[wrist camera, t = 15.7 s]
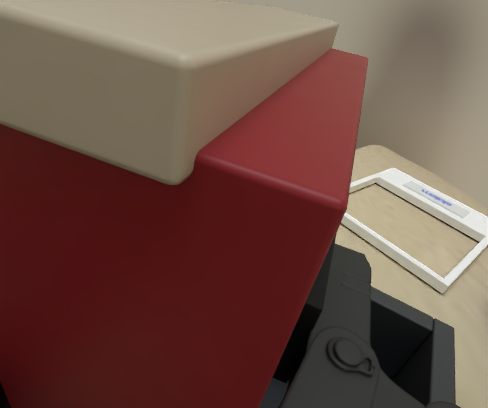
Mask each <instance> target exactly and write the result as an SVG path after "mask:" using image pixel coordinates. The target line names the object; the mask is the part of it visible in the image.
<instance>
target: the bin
mask: <svg viewBox="0 0 488 408" xmlns="http://www.w3.org/2000/svg"><path fill="white" fill-rule="evenodd" d="M370 296H371V320H370V343H371V348H372V349H373V350H374V352H375V354H376V357H377V359H378V362H379V364H380V368H381V369H382V371H383V372H384V373H385V374H386V375H387V376H388V378H389V379H391V380H392V381H393V382H394V383H395V384H396V385H398V386H399V387H400V388H401V389H403V390H404V391H405V392H407V393H408V394H410V395H411V396H412V397H414V398H415V399H416V400H418V401H419V402H420V403H422V404H423V405H424V406H426V405H427V404H429V403H432V402H436V401H444V402H449V403H453V404H455V405H456V401H455V347H454V328H453V327H451V326H449V325H447V324H445V323H443V322H441V321H439V320H437V319H433V317H431V316H429V315H427V314H425V313H423V312H421V311H419V310H417V309H415V308H413V307H411V306H409V305H407V304H405V303H403V302H401V301H399V300H397V299H395V298H393V297H391V296H389V295H387V294H385V293H383V292H381V291H379V290H377V289H375V288H373V287H371V294H370ZM289 378H290V377H289ZM288 382H289V379H288V381H287V383H284V382H282V381H279V380H277V379H275V378H273V377H272V379H271V382H270V384H269V386H268V388H267V391H266V393H265V395H264V397H263V400H262V402H261V404H260V406H259V408H278V407H279V405H280V403H281V401H282V399H283V397H284V395H285V393H286V391H287V387H288ZM6 408H11V406H10V404H8V406H7V407H6Z"/></svg>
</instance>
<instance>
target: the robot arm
mask: <svg viewBox="0 0 488 408" xmlns="http://www.w3.org/2000/svg"><path fill="white" fill-rule="evenodd" d="M335 238H336V235H335V237H334V239H333V241H332V244H331V246H330V248H329V250H328V253H327V255H326V257H325V259H324V262H323V264H322V266H321V269H320V271H319V273H318V275H317V278H316V280H315V282H314V284H313V287H312V289H311V291H310V293H309V296H308V298H307V300H306V302H305V305H304V307H303V309H302V311H301V314H300V316H299V318H298V321H297V323H296V325H295V327H294V330H293V332H292V334H291V336H290V339H289V341H288V343H287V345H286V348H285V350H284V352H283V354H282V357H281V359H280V361H279V364H278V366H277V368H276V370H275V373H274V375H273V378H275V379H277V380H279V381H282V382H284V383H287V381H288V379H289V382H288V387H287V391H286V393H285V395H284V397H283V399H282V401H281V403H280V405H279V407H278V408H461V407H459V406H457V405H455V404H453V403H449V402H444V401H436V402H432V403H429V404H427V405H426V406H424V405H423V404H422V403H420V402H419V401H418V400H416V399H415V398H414V397H412V396H411V395H410V394H408V393H407V392H405V391H404V390H403V389H401V388H400V387H399V386H398V385H396V384H395V383H394V382H393V381H392V380H391V379H389V378H388V376H387V375H386V374H385V373H384V372H383V371H382V369H381V368H380V364H379V362H378V359H377V357H376V354H375V352H374V350H373V349H372V348H371V343H370V320H371V296H370V294H371V285H370V284H371V267H370V265H369V263H368V261H367V259H366V257H365V255H364V254H362V253H359V252H356V251H354V250H351V249H348V248H345V247H343V246H340V245H337V244H334V243H335ZM289 377H290V378H289ZM8 404H9V401H8V399H7V397H6V394H5V392H4V389H3V387H2V384H1V382H0V408H6V407H7V406H8Z"/></svg>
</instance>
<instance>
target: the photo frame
mask: <svg viewBox="0 0 488 408" xmlns="http://www.w3.org/2000/svg"><path fill="white" fill-rule="evenodd" d="M374 183H377V184H379V185H381V186H382V187H384V188H386V189H388V190H389V191H391V192H393V193H395V194H396V195H398V196H400V197H402V198H403V199H405V200H407V201H409V202H410V203H412V204H414V205H416V206H417V207H419V208H421V209H423V210H424V211H426V212H428V213H430V214H431V215H433V216H435V217H437V218H438V219H440V220H442V221H444V222H445V223H447V224H449V225H451V226H452V227H454V228H456V229H458V230H459V231H461V232H463V233H465V234H466V235H468V236H470V237H472V238H473V239H475V240H477V241H479V242H480V243H479V244H478V245H477V246H476V247H475V248H474V249H473V250H472V251H471V252H470V253H469V254H468V255H467V256H466V257H465V258H464V259H463V260H462V261H461V262H460V263H459V264H458V265H457V266H456V267H455V268H454V269H453V270H452V271H451V272H450V273H449V274H448V275H447V276H446V277H445V278H443V277H441V276H440V275H438V274H437V273H435V272H434V271H432V270H431V269H429V268H428V267H426V266H425V265H423V264H422V263H420V262H419V261H417V260H416V259H414V258H413V257H411V256H410V255H408V254H407V253H405V252H404V251H402V250H401V249H399V248H398V247H396V246H395V245H393V244H392V243H390V242H389V241H387V240H386V239H384V238H383V237H381V236H380V235H379V234H377V233H376V232H374V231H373V230H371V229H370V228H368V227H367V226H365V225H364V224H362V223H361V222H359V221H358V220H356V219H355V218H353V217H352V216H350V215H349V214H347V213H346V212H345V214H344V216H343V219H342V221H341V223H342V224H343V225H345V226H346V227H348V228H349V229H350V230H352V231H353V232H355V233H356V234H358V235H359V236H360V237H362V238H363V239H365V240H366V241H368V242H369V243H370V244H372V245H373V246H375V247H376V248H378V249H379V250H381V251H382V252H383V253H385V254H386V255H388V256H389V257H391V258H392V259H393V260H395V261H396V262H398V263H399V264H401V265H402V266H403V267H405V268H406V269H408V270H409V271H411V272H412V273H413V274H415V275H416V276H418V277H419V278H421V279H422V280H423V281H425V282H426V283H428V284H429V285H431V286H432V287H433V288H435V289H436V290H438V291H439V292H441V293H442V294H443V293H444V292H445V291H446V290H447V289H448V288H449V287H450V285H451V284H452V283H453V282H454V281H455V280H456V279H457V278H458V277H459V276H460V275H461V274H462V273H463V271H464V270H465V269H466V268H467V267H468V266H469V265H470V264H471V263H472V262H473V261H474V260H475V259H476V257H477V256H478V255H479V254H480V253H481V252H482V251H483V250H484V249H485V248H486V247H487V246H488V217H487V216H485V215H483V214H482V213H480V212H478V211H476V210H474V209H472V208H470V207H468V206H466V205H464V204H462V203H460V202H459V201H457V200H455V199H453V198H451V197H449V196H447V195H445V194H443V193H441V192H439V191H437V190H436V189H434V188H432V187H430V186H428V185H426V184H424V183H422V182H420V181H418V180H416V179H414V178H413V177H411V176H409V175H407V174H405V173H403V172H401V171H399V170H397V169H395V168H391V169H388V170H385V171H382V172H380V173H377V174H374V175H371V176H369V177H366V178H363V179H360V180H357V181H355V182H352V183H350V190H349V193H351V192H354V191H356V190H359V189H361V188H364V187H366V186H369V185H371V184H374Z"/></svg>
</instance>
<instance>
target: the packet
mask: <svg viewBox="0 0 488 408" xmlns="http://www.w3.org/2000/svg"><path fill="white" fill-rule="evenodd" d="M338 26H339V24H338V22H336V21H331V20H327V19H323V18H319V17H315V16H310V15H306V14H302V13H298V12H294V11H289V10H285V9H281V8H277V7H273V6H268V5H256V4H244V3H232V2H220V1H207V0H0V382H1V384H2V387H3V389H4V392H5V394H6V397H7V399H8V401H9V404H10V406H11V408H259V406H260V404H261V402H262V400H263V397H264V395H265V393H266V391H267V388H268V386H269V384H270V382H271V379H272V377H273V375H274V373H275V370H276V368H277V366H278V364H279V361H280V359H281V357H282V354H283V352H284V350H285V348H286V345H287V343H288V341H289V339H290V336H291V334H292V332H293V330H294V327H295V325H296V323H297V321H298V318H299V316H300V314H301V311H302V309H303V307H304V305H305V302H306V300H307V298H308V296H309V293H310V291H311V289H312V287H313V284H314V282H315V280H316V278H317V275H318V273H319V271H320V269H321V266H322V264H323V262H324V259H325V257H326V255H327V253H328V250H329V248H330V246H331V244H332V241H333V239H334V237H335V235H336V232H337V230H338V228H339V226H340V223H341V221H342V219H343V216H344V214H345V212H346V210H347V204H348V197H349V190H350V183H351V176H352V169H353V162H354V155H355V147H356V141H357V134H358V127H359V121H360V114H361V107H362V100H363V93H364V85H365V79H366V72H367V66H368V58H367V57H363V56H359V55H355V54H351V53H347V52H343V51H340V50H336V49H332V45H333V42H334V39H335V36H336V32H337V29H338Z"/></svg>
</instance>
